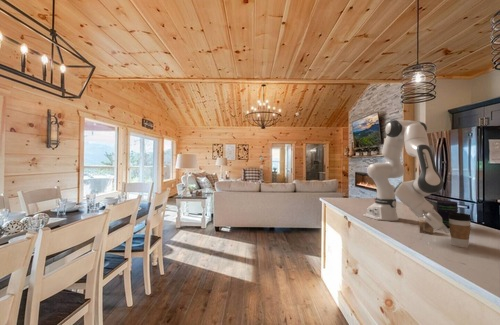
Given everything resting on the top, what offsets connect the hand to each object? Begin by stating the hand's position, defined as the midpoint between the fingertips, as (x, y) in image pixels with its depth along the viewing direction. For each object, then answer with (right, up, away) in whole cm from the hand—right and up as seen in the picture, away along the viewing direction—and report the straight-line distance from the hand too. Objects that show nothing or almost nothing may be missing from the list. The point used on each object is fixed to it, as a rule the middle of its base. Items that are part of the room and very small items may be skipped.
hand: (448, 232), depth 114 cm
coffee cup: (+3, -6, -3) cm, 7 cm away
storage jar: (+23, -5, +29) cm, 37 cm away
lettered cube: (+3, -6, +18) cm, 20 cm away
